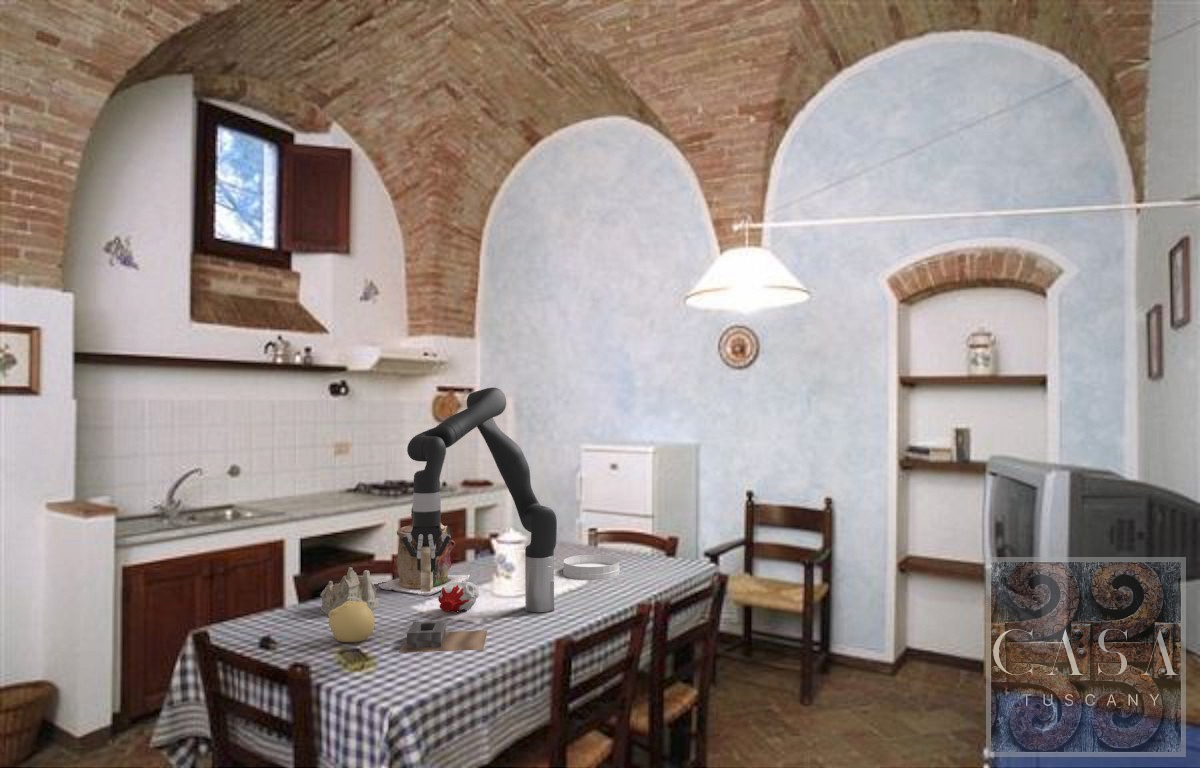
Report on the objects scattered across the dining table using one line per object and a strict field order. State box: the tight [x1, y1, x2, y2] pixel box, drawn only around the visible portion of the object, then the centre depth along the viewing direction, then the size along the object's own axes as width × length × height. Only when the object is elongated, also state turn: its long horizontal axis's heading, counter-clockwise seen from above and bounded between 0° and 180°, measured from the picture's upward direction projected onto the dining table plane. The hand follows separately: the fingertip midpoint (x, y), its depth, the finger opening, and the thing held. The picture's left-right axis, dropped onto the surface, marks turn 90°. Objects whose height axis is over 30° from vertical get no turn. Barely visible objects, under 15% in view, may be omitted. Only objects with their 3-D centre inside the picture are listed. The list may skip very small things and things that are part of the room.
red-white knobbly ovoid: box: [437, 581, 480, 613], centre depth 237 cm, size 9×11×15 cm
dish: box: [562, 554, 621, 581], centre depth 287 cm, size 22×22×5 cm
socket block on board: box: [398, 620, 488, 653], centre depth 203 cm, size 22×16×6 cm
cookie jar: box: [377, 508, 470, 597], centre depth 271 cm, size 25×25×32 cm
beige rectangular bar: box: [421, 545, 433, 592], centre depth 203 cm, size 2×5×12 cm, turn 4°
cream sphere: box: [327, 601, 376, 643], centre depth 210 cm, size 11×12×11 cm
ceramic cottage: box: [320, 567, 380, 615], centre depth 241 cm, size 16×16×15 cm
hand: (426, 571), depth 203 cm, fingers closed on beige rectangular bar, 2 cm apart
